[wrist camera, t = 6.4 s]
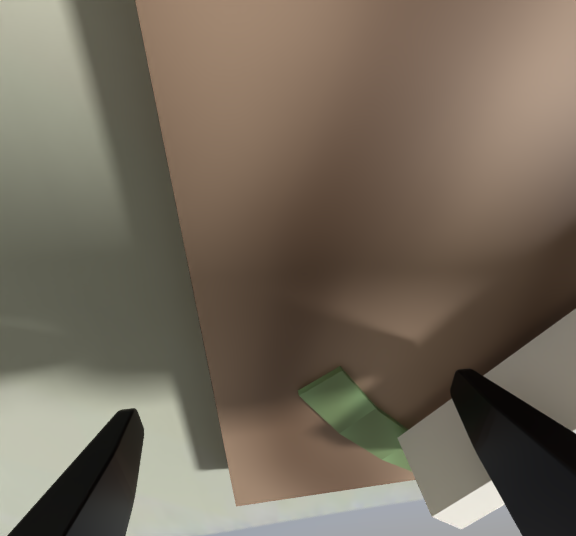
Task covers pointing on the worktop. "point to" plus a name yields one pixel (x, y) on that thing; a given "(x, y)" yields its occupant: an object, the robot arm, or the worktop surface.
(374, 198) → the board
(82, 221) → the worktop surface
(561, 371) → the dial needle
